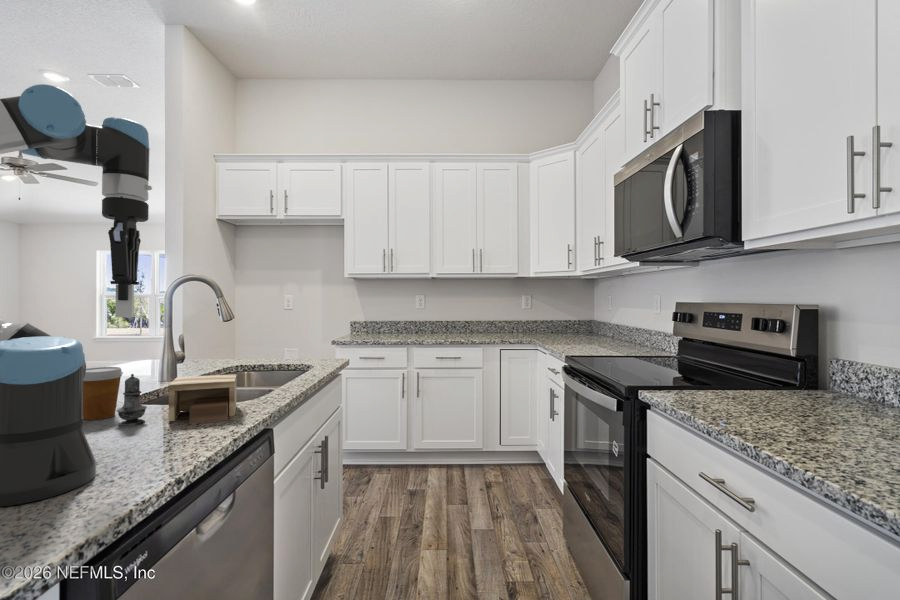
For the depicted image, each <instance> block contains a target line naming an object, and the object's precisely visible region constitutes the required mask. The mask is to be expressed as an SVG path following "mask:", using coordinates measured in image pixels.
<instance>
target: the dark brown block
mask: <svg viewBox="0 0 900 600" xmlns="http://www.w3.org/2000/svg"><path fill="white" fill-rule="evenodd" d="M228 419H229V396H223V397H209V398H197V399H196V401H195V402H194V403H193V405H192V406H191V408H190V412H189V421H188V422H189V425H194V424H195V423H197V424H207V423H215V422H216V423H218V422H226V421H228Z"/></svg>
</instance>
